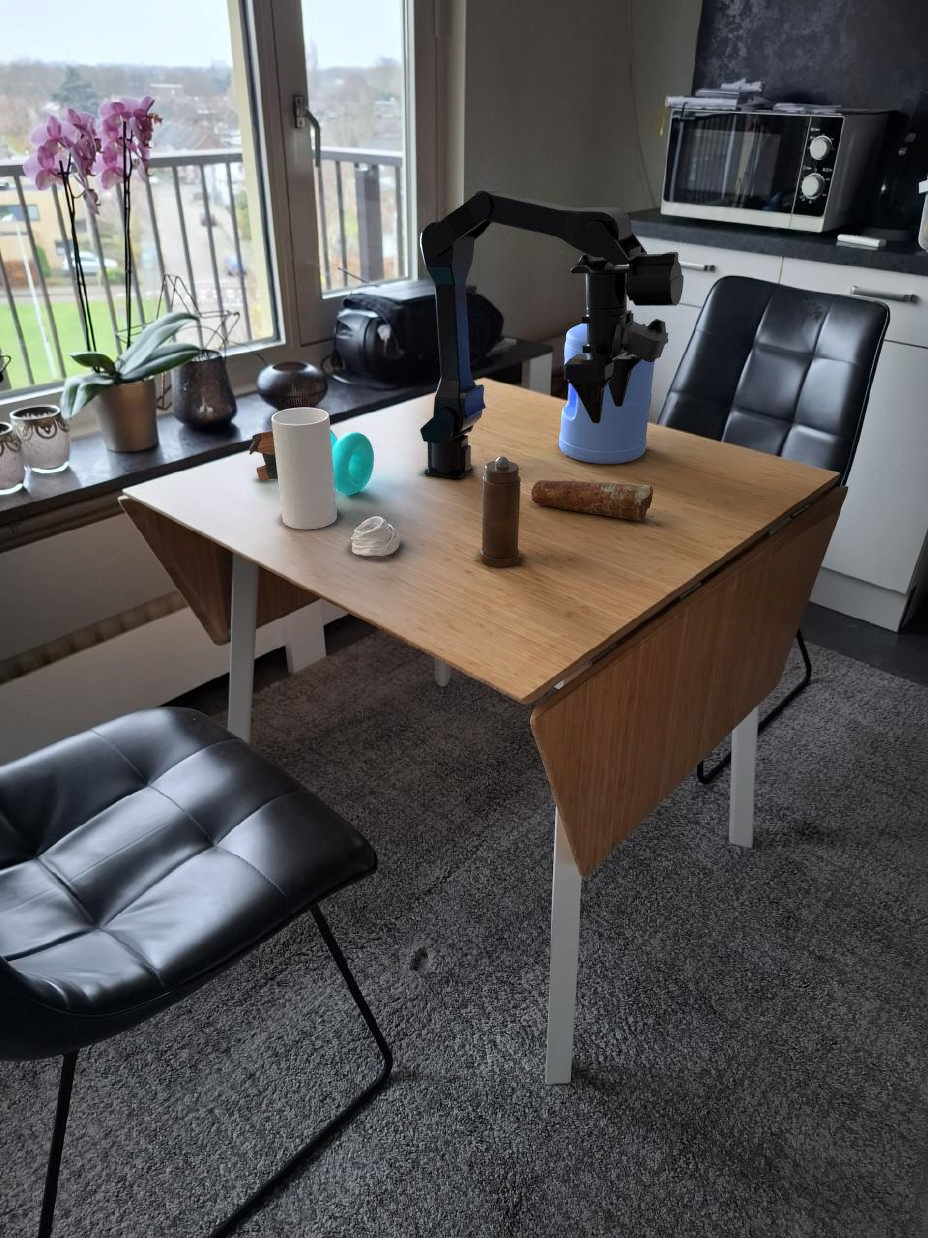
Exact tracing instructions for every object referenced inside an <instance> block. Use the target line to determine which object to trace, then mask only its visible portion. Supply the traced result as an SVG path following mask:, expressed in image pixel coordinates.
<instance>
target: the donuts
mask: <svg viewBox="0 0 928 1238" xmlns="http://www.w3.org/2000/svg"><path fill="white" fill-rule="evenodd" d="M330 432H331V444H332V457H333V470H334V483H335V490H337V491H338V492H340V494H341V493H342V494H344V495H349V496H351V495H356V494H358V493H359V492H361V491H362V490H363V489H364V488H365V487H366V486H367V484H368V483H369V481H370V479H371V477H372V474H373V470H374V464H375V452H374V449H373V444H372V443H371V441H370V439H369V438H368V437H367V436H366V435H365V434H364V433H361V432H359V431H350V432H347V433H344V434H343V435H341V437H339V439H338V437H337V436H336V434H335V433H334V431H333V430H332V428H330Z"/></svg>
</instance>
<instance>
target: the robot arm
mask: <svg viewBox="0 0 928 1238" xmlns="http://www.w3.org/2000/svg"><path fill="white" fill-rule="evenodd" d="M492 224H499V225H503V226H507V227H511V228H515V229H518V230H524V231H527V232H531V233H536V234H540V235H544V236H549V237H553V238H557V239H559V240H561V241H563V242H564V243H565V244H567V245H568V246H570V247H571V248H573V249H574V250H576V251H579V252H581V253H583V255H581V256H580V258H579V260H578V262H576V264H575V265H574V266H573V267H572V268H571V269H570V273H571V275H585V303H586V306H585V307H586V310H585V311H586V314H584V315H582V316H581V324H587V344H585V345H583V346H582V353H591V354H577V355H576V356H574V357H572V358H570V359H569V360H568V361H567V362H566V363H565V362H564V364H563V365H562V367H563V379H564V380H566V381H567V382H568V385H569V384H572V386H573V387H574V389H575V391H576V392H577V394H578V396H579V398H580V399H581V401H582V403H583V405H584V407H585V409H586V411H587V413H588V415H589V417H590V419H591V421H592V422H593V423H600V420H601V414H602V406H603V398H604V389H605V387H606V386H607V385H609V389H610V392H611V396H612V399H613V402H614V405H615V406H616V407H621V406H622V405H623V402H624V398H625V394H626V390H627V386H628V382H629V379H630V375H631V372H632V369H633V368H634V367H635V366H636V365H637V364H638V363H639V362H640V361H641V360H644V361H646V362H654V361H655V362H656V360H657V359H660V358H661V356H662V354H663V351H664V348H665V346H666V345H667V344H668V343H669V337H668V336H669V333H668V332H667V326H666V325H667V324H666V322H665V321H663V320H661V319H659V318H655V319H653V320H652V321H650V323H649V324H648V325H646V323H642V324H641V323H639V322H637V323H635V322H636V321H635V319H634V317H635V315H634V313H633V312H632V311H633V310H631V309H628V301H630V302H631V301H632V303H633V305H634V306H636V307H662V306H663V307H671V306H672V307H676V306H678V305H679V303H680V301H681V299H682V295H683V291H684V290H683V289H684V280H685V279H684V278H685V277H684V274H683V269H682V266H681V263H680V261H679V252H678V251H668V252H664V253H648V251H647V250H646V248H645V247H644V246H643V244H642V243H641V241H640V240H639V238H638V237H637V235H636V234H635V233H634V231H633V226H632V220H631V219H630V217H629V214H628V213H627V211H625V210H624V209H621V208H619V207H613V206H612V207H609V206H608V207H607V206H605V207H604V206H603V207H602V206H598V207H597V206H593V207H589V206H588V207H568V206H564V205H560V204H555V203H551V202H546V201H542V200H538V199H534V198H529V197H525V196H520V195H516V194H511V193H507V192H502V191H500V190H499V189H497V188H489V189H488V188H487V189H483V190H479V191H476V192H475V193H474V194H473V195H472V196H471V197H469V199H468V200H467V201H465V202H464V203H463V204H461V205H459V206H458V207H457V208H456V209H454V210H453V211H451V212H450V213H448V214H447V215H446V216H444V217H443V218H442V219H441V220H438V221H433V222H430V223H428V224H427V225H426V226H425V228H424V229H423V231H421V234H420V240H419V241H420V242H419V243H420V248H421V253H422V254H421V255H422V257H423V262H424V267H425V269H426V271H427V273H428V274H429V277H430V278H431V280H432V282H433V285H434V292H435V293H434V294H435V295H434V296H435V308H436V309H435V310H436V322H437V338H438V339H437V340H438V351H439V352H438V353H439V367H440V380H439V382H438V386H437V388H436V392H435V394H434V399H433V400H434V401H433V411H432V412H433V413H432V417H431V418H430V419H429V420H428V421H427V422H426V423H425V424H424V425H422V427H421V428H420V429H419V432H420V436H421V438H422V441H423V442H424V443H427V468H426V469H424V471H423V474H424V475H427V476H433V477H438V478H445V479H452V480H453V479H454V480H460V479H461V478H462V477H463V476H464V475H465V474H466V473H467V472H469V470H470V469H472V467H473V465H472V452H471V451H472V446H471V445H470V444H469V435H467V434H468V433H471V432H472V431H473V428H474V425H475V424H477V423H478V421H480V419H481V418H482V416H483V412H484V411H483V410H485V409H486V408H487V406H486V403H485V399H484V394H485V385H484V384H483V383H482V384H476V382H475V380H474V378H473V376H472V373H471V358H470V357H471V356H470V338H469V323H468V322H469V318H468V302H467V301H468V299H467V279H468V277H469V273H470V270H471V268H472V264H473V259H474V253H475V251H474V250H475V242H476V240H477V239H479V238H480V237H481V236H482V235H483V234H485V233H486V231H487V230H488V229H489V228H490V227H491V225H492ZM596 258H601V259H596ZM634 321H635V322H634ZM638 323H639V324H638ZM655 362H654V363H655Z"/></svg>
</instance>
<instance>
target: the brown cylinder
mask: <svg viewBox="0 0 928 1238" xmlns="http://www.w3.org/2000/svg"><path fill="white" fill-rule="evenodd" d="M530 493H531V494H530V495H531V496H530V498H531V501H532V502H533V503H534V504H537V505H542V506H546V507H553V508H558V509H561V510H568V511H573V512H581V513H587V514H594V515H600V516H605V517H606V516H607V517H613V518H618V519H623V520H629V521H644V520H646V517H647V512H648V510H649V509H650V508H651V505H652V501H653V498H654V497H653V495H654V489H653V486H652V485H649V484H648V485H647V484H640V483H638V484H637V483H626V482H610V481H609V482H606V481H584V480H583V481H581V480H568V479H567V480H558V479H557V480H553V479H552V480H551V479H549V480H548V479H540V480H537V481H536V482H535V483H534V484H533V486H532V488H531V492H530Z"/></svg>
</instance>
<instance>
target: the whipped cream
mask: <svg viewBox="0 0 928 1238" xmlns="http://www.w3.org/2000/svg"><path fill="white" fill-rule="evenodd" d="M353 531H354V533H353V534H352V536H350V539H351V541H352V542H351V546H352V547H351V553H353V554H354V555H356V556H364V557H371V556H377V557H379V556H380V557H383V556H387V555H388V556H389V555H392V554H393V553H394V552H396V551H397V550H398V548H399V546H400V536H399V534H398V531H397V530H396V529H395V528H394V526H393V525H392V524H391V523H387V520H385V518H383V517H381V516H372V517H369V518H368V519H366V520H364V521H363V522H361V524H359V526H357V527H356V528H355V529H353Z"/></svg>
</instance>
